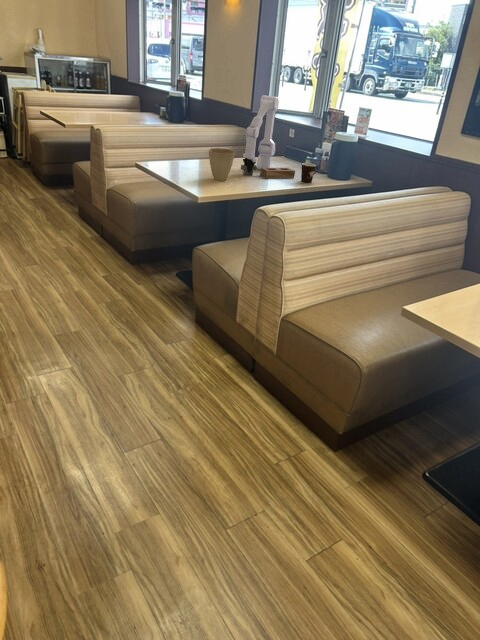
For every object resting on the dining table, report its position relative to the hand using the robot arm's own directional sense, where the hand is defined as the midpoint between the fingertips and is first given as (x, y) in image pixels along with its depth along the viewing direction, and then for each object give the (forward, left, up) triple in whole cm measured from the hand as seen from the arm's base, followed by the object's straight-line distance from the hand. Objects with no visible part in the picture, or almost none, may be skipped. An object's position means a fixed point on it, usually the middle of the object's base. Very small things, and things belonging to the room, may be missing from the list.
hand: (248, 171), depth 288 cm
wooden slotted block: (+5, +18, -2) cm, 19 cm away
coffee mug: (+18, +33, -2) cm, 38 cm away
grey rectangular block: (0, 0, -2) cm, 2 cm away
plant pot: (+10, -23, -2) cm, 25 cm away
